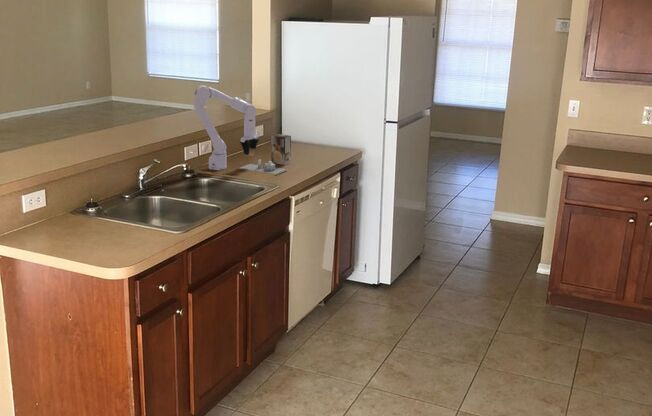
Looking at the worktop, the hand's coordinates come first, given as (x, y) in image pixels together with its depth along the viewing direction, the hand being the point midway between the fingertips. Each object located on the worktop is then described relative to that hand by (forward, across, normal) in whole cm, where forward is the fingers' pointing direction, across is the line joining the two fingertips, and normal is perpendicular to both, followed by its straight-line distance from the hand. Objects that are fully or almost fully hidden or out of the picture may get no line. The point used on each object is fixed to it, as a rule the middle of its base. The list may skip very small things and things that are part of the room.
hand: (249, 153), depth 351 cm
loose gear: (+1, 0, 0) cm, 1 cm away
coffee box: (+8, +18, -9) cm, 22 cm away
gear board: (+8, 0, -8) cm, 12 cm away
